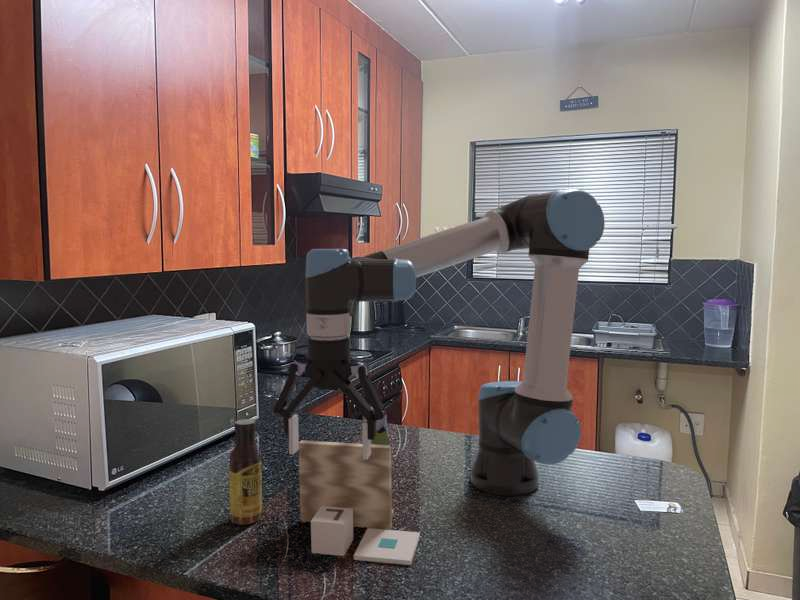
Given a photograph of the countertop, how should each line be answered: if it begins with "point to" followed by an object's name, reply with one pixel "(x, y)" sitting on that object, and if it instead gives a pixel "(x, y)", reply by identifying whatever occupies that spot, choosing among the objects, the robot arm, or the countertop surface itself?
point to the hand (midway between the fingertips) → (330, 454)
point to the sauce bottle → (245, 476)
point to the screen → (346, 481)
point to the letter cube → (332, 530)
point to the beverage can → (381, 432)
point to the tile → (387, 546)
